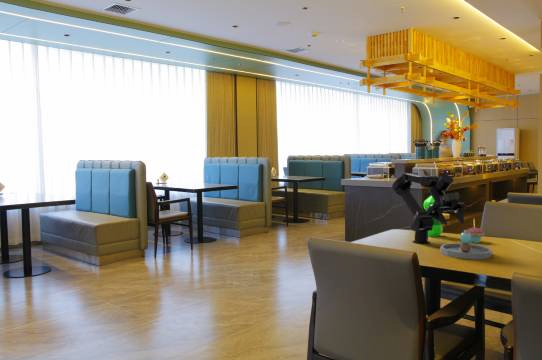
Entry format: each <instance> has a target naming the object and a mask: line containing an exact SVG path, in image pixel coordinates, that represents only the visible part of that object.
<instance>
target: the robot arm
mask: <svg viewBox="0 0 542 360" xmlns="http://www.w3.org/2000/svg"><path fill="white" fill-rule="evenodd" d="M453 182H454V179H453V177H451V175H449V174H447V173H446V172H441V173H440V175H439V176H438V175H422V174H421V175H420V174H416V173H412V172H404V173H403V174H401V175H400V176H399V177H398V178H396V180H394V182H393V183H392V186H391V187H392V190H393V192H394V193H395V194H396V195H398V196H400V197H401V198H402V199H403V201H404V202H405V204H406V206H407V207H408V209H409V210H410V213H412V215H413V223H412V224H411V230H412V231H414V240H412V241H411V242H412V243H416V244H420V245H425V244H431V241H429V236H428V231H432V227H433V224H434V221H433V219H432V217H433V218H435V219H437V220H438V221H440V222H441V224H442V225H444V226H447V225H448V222H447V220H446V218H445V215H444V214H443V212H452V214H454V215H453V216H454V217H455V218H456V219H457V220H458V221H459V222H460V224H462V225H464V224H465V219H464V212H465V209H467V208H468V206H467V204H466V203H465V202H456V201H458V200H459V199H461V195H460V193H459V192H458V191H455V192H449V193H447V194H446V193H445V191H447V190H448V189H449V188H450V187H451V185H452V184H453ZM413 183H415V184H419V185H420V186H421V187H423V188H425V189H428V190H427V191H428V192H427V194H426V195H427V196H428V197H430V196H432V197H433V199H434V204H431V205H430V207H429V208H428V209H427V211H426V210H425V211H424V210H423V209H422V207H421V206H420V204H419V203H418V202H417V200H416V199H415V197H414V196H413V193H412V192H411V187H412V185H413ZM429 188H430V189H429ZM454 202H456V204H455V203H454ZM452 205H454V206H452Z"/></svg>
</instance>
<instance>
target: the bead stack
mask: <svg viewBox="0 0 542 360" xmlns="http://www.w3.org/2000/svg"><path fill="white" fill-rule="evenodd" d="M467 230H468V229H464V230H463V232H460V243H462V244H461V245H460V249H461V251H459V252H464V253H472V252H470V249H471V246H470V244H472V242H471V234H470V233H468V231H467Z"/></svg>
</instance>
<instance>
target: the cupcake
mask: <svg viewBox="0 0 542 360" xmlns="http://www.w3.org/2000/svg"><path fill="white" fill-rule="evenodd" d="M466 230H467V231H468V233H470V234H471V243H475V244H476V243H480V242H481V240H482V238H483V237H484V236H485V231H484V230H483V229H482V228H478V227H476V219H475V218H473V227H470V228H468V229H466Z"/></svg>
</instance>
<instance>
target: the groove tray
mask: <svg viewBox="0 0 542 360" xmlns="http://www.w3.org/2000/svg"><path fill="white" fill-rule="evenodd" d="M461 244H462V243H461V242H454V243H452V242H451V243H444V244H441V245H440V248H439V249H440V250H439V251H440V253H441V255H444V256H446V257H451V258H455V259H462V260H486V259H490V258H492V256H493V249H491V248H490V247H487V246H484V245H479V244H476V243H475V244H472V243H469V244H470V246H471V249H470V252H472V253H464V252H459V251H461V249H460V245H461Z"/></svg>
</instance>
